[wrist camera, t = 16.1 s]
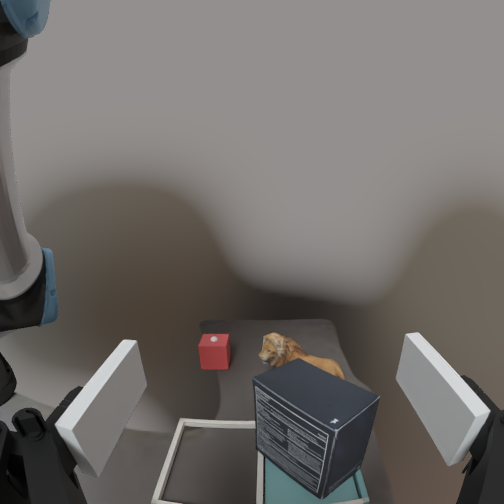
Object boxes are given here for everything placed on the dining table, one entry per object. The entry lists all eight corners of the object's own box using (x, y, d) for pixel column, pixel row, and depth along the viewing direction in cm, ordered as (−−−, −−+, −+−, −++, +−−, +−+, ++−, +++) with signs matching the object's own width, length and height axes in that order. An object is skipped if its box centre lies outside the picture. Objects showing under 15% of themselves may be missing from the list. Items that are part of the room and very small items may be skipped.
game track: (152, 506, 20) (150, 502, 20) (181, 422, 34) (180, 418, 33) (367, 505, 19) (369, 501, 19) (342, 419, 33) (342, 415, 33)
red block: (201, 369, 47) (197, 342, 46) (205, 355, 51) (202, 330, 50) (228, 369, 47) (225, 343, 46) (230, 356, 51) (228, 330, 50)
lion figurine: (254, 391, 41) (251, 338, 39) (272, 374, 45) (271, 324, 43) (351, 417, 33) (361, 360, 31) (362, 394, 37) (370, 340, 36)
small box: (364, 466, 23) (385, 393, 21) (321, 502, 20) (336, 434, 18) (296, 424, 32) (299, 353, 30) (253, 448, 28) (248, 377, 26)
